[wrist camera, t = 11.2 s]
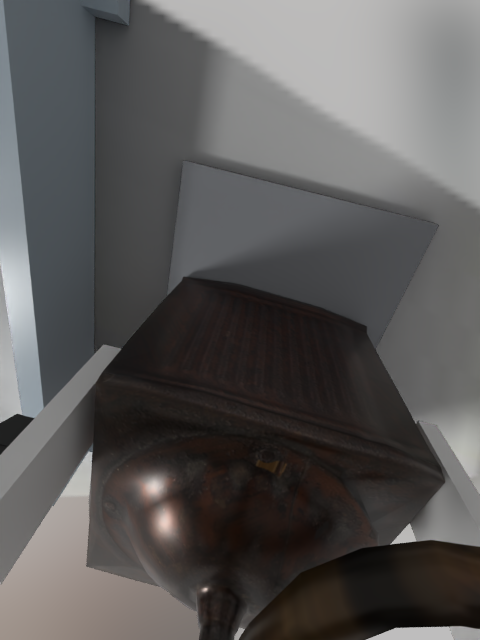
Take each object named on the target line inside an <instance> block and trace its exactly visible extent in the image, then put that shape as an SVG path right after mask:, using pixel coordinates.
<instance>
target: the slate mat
mask: <svg viewBox="0 0 480 640" xmlns="http://www.w3.org/2000/svg"><path fill="white" fill-rule="evenodd" d="M438 226H439V225H438V224H435V223H432V222H428V221H424V220H420V219H416V218H412V217H408V216H404V215H400V214H396V213H392V212H388V211H384V210H380V209H376V208H372V207H369V206H365V205H361V204H357V203H353V202H349V201H345V200H341V199H337V198H333V197H329V196H325V195H321V194H317V193H313V192H309V191H305V190H301V189H297V188H293V187H289V186H285V185H281V184H277V183H273V182H269V181H265V180H262V179H258V178H254V177H250V176H246V175H242V174H238V173H234V172H230V171H226V170H222V169H218V168H214V167H210V166H206V165H202V164H198V163H194V162H190V161H183V167H182V175H181V183H180V191H179V200H178V208H177V216H176V224H175V232H174V240H173V249H172V257H171V265H170V273H169V281H168V290H167V296H168V295H169V294H170V293H171V292H172V290H173V289H174V288H175V287H176V286H177V285H178V284H179V283H180V282H181V281H182V279H183V277H192V278H200V279H207V280H214V281H221V282H228V283H236V284H240V285H244V286H247V287H251V288H254V289H258V290H261V291H265V292H269V293H272V294H276V295H279V296H283V297H286V298H290V299H293V300H297V301H300V302H304V303H307V304H311V305H314V306H318V307H321V308H324V309H326V310H329V311H331V312H333V313H336V314H338V315H341V316H343V317H346V318H348V319H351V320H353V321H355V322H358V323H360V324H363V325H365V326H367V335H368V336H369V338H370V340H371V342H372V344H373V346H374V348H375V349H376V347H377V345H378V343H379V341H380V339H381V337H382V336H383V334H384V332H385V330H386V328H387V326H388V324H389V322H390V320H391V318H392V316H393V314H394V312H395V310H396V308H397V306H398V304H399V302H400V300H401V298H402V296H403V294H404V293H405V291H406V289H407V287H408V285H409V283H410V281H411V279H412V277H413V275H414V273H415V271H416V269H417V267H418V265H419V263H420V261H421V259H422V257H423V255H424V253H425V252H426V250H427V248H428V246H429V244H430V242H431V240H432V238H433V236H434V234H435V232H436V230H437V228H438Z"/></svg>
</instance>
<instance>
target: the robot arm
mask: <svg viewBox="0 0 480 640" xmlns="http://www.w3.org/2000/svg"><path fill="white" fill-rule="evenodd" d="M120 350H121V348H117V347H112V346H108V345H103V346H102V347H101V348H100V349H99V350H98V351H97V352H96V353H95V354H94V355H93V356H92V357H91V359H90V360H89V361H88V362H87V363H86V364H85V365H84V366H83V367H82V368H81V369H80V370H79V371H78V372H77V373H76V375H75V376H74V377H73V378H72V379H71V380H70V381H69V382H68V383H67V384H66V385H65V386H64V387H63V388H62V390H61V391H60V392H59V393H58V394H57V395H56V396H55V397H54V398H53V399H52V400H51V401H50V402H49V403H48V404H47V406H46V407H45V408H44V409H43V410H42V411H41V412H40V413H39V414H38V415H37V416H36V417H35V418H32V417H28V416H24V415H19V414H16V415H14V416H13V417H11V418H9V419H7V420H5V421H4V422H2V423H0V585H1V584H2V582H3V581H4V579H5V578H6V576H7V575H8V573H9V572H10V570H11V569H12V567H13V565H14V564H15V562H16V561H17V559H18V558H19V556H20V555H21V553H22V551H23V550H24V548H25V547H26V545H27V544H28V542H29V541H30V539H31V538H32V536H33V534H34V533H35V531H36V530H37V528H38V527H39V525H40V524H41V522H42V520H43V519H44V517H45V516H46V514H47V513H48V511H49V510H50V508H51V507H52V505H53V504H54V502H55V500H56V499H57V497H58V496H59V494H60V493H61V491H62V490H63V488H64V487H65V485H66V483H67V482H68V480H69V479H70V477H71V476H72V474H73V473H74V471H75V470H76V468H77V466H78V465H79V463H80V462H81V460H82V459H83V457H84V456H85V454H86V452H87V451H88V449H89V448H90V446H91V445H92V443H93V435H94V410H95V385H96V381H97V380H98V378H99V376H100V375H101V373H102V372H103V371H104V369H105V368H106V367H107V366H108V364H109V363H110V362H111V361H112V360H113V359H114V357H115V356H116V355H117V354H118V353H119V351H120ZM416 425H417V427H418V429H419V431H420V432H421V434H422V436H423V438H424V440H425V442H426V444H427V445H428V447H429V449H430V451H431V452H432V454H433V455H434V457H435V459H436V460H437V462H438V463H439V465H440V466H441V469H442V472H443V476H444V479H445V483H444V484H443V485H442V487H441V488H440V489H439V490H438V491H437V492H436V493H435V495H434V496H433V497H432V498H431V499H430V500H429V501H428V502H427V504H426V505H425V506H424V507H423V508H422V509H421V510H420V512H419V513H418V514H417V515H416V516H415V517H414V518H413V520H412V521H411V522H410V524H411V527H412V530H413V532H414V535H415V538H416V540H417V541H426V540H435V541H442V542H450V543H457V544H464V545H471V546H478V547H480V494H479V493H478V491H477V489H476V488H475V486H474V485H473V483H472V481H471V480H470V478H469V476H468V475H467V473H466V472H465V470H464V468H463V467H462V465H461V464H460V462H459V460H458V459H457V457H456V455H455V454H454V452H453V451H452V449H451V447H450V446H449V444H448V443H447V441H446V439H445V438H444V436H443V435H442V433H441V431H440V430H439V428H438V426H437V425H434V424H430V423H426V422H422V421H418V422H417V423H416ZM449 628H450V631H451V633H452V636H453V638H454V640H480V629H475V628H469V627H463V626H449Z"/></svg>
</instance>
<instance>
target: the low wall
mask: <svg viewBox="0 0 480 640" xmlns="http://www.w3.org/2000/svg"><path fill="white" fill-rule="evenodd" d="M129 15H130V0H0V264H1V271H2V278H3V285H4V292H5V299H6V305H7V312H8V319H9V326H10V333H11V340H12V347H13V354H14V361H15V368H16V375H17V382H18V389H19V395H20V402H21V409H22V415H24V416H28V417H32V418H35V417H36V416H37V415H38V414H39V413H40V412H41V411H42V410H43V409H44V408H45V407H46V406H47V404H48V403H49V402H50V401H51V400H52V399H53V398H54V397H55V396H56V395H57V394H58V393H59V392H60V391H61V390H62V388H63V387H64V386H65V385H66V384H67V383H68V382H69V381H70V380H71V379H72V378H73V377H74V376H75V375H76V373H77V372H78V371H79V370H80V369H81V368H82V367H83V366H84V365H85V364H86V363H87V362H88V361H89V360H90V359H91V357H92V356H93V355H94V250H95V17H98V18H102V19H106V20H110V21H113V22H117V23H121V24H125V25H129ZM88 451H89V452H93V443H92V445H91V446H90V448H89V449H88ZM88 451H87V452H86V454H85V456H86V455H87V453H88ZM85 456H84V457H83V459H84V458H85ZM83 459H82V460H81V462H82V461H83ZM81 462H80V463H79V465H80V464H81ZM79 465H78V466H77V468H76V470H77V469H78V467H79ZM76 470H75V471H74V473H75V472H76ZM74 473H73V474H72V476H73V475H74ZM72 476H71V477H70V479H71V478H72ZM70 479H69V480H68V482H67V483H66V485H65V487H66V486H67V484H68V483H69V481H70ZM65 487H64V488H63V490H64V489H65ZM63 490H62V491H61V493H62V492H63ZM61 493H60V494H59V496H58V497H57V499H56V500H55V502H54V504H55V503H56V501H57V500H58V498H59V497H60V495H61ZM54 504H53V505H52V506H54Z"/></svg>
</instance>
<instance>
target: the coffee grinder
mask: <svg viewBox="0 0 480 640" xmlns="http://www.w3.org/2000/svg"><path fill="white" fill-rule="evenodd" d="M444 483H445V479H444V476H443V472H442V469H441V466H440V465H439V463H438V462H437V460H436V459H435V457H434V455H433V454H432V452H431V451H430V449H429V447H428V445H427V444H426V442H425V440H424V438H423V436H422V434H421V432H420V431H419V429H418V427H417V425H416V423H415V421H414V420H413V418H412V416H411V414H410V412H409V410H408V409H407V407H406V405H405V403H404V401H403V399H402V397H401V396H400V394H399V392H398V390H397V388H396V386H395V385H394V383H393V381H392V379H391V377H390V376H389V374H388V372H387V370H386V368H385V367H384V365H383V363H382V361H381V359H380V358H379V356H378V354H377V352H376V350H375V348H374V346H373V344H372V342H371V340H370V338H369V336H368V335H367V326H365V325H363V324H360V323H358V322H355V321H353V320H351V319H348V318H346V317H343V316H341V315H338V314H336V313H333V312H331V311H329V310H326V309H324V308H321V307H318V306H314V305H311V304H307V303H304V302H300V301H297V300H293V299H290V298H286V297H283V296H279V295H276V294H272V293H269V292H265V291H261V290H258V289H254V288H251V287H247V286H244V285H240V284H236V283H228V282H221V281H214V280H207V279H200V278H192V277H183V279H182V281H181V282H180V283H179V284H178V285H177V286H176V287H175V288H174V289H173V290H172V292H171V293H170V294H169V295H168V296H167V297H166V298H165V299H164V300H163V301H162V303H161V304H160V305H159V306H158V307H157V308H156V309H155V310H154V312H153V313H152V314H151V315H150V316H149V317H148V318H147V320H146V321H145V322H144V323H143V324H142V325H141V327H140V328H139V329H138V330H137V331H136V333H135V334H134V335H133V336H132V337H131V338H130V340H129V341H128V342H127V343H126V344H125V346H124V347H123V348H122V349H121V350H120V351H119V353H118V354H117V355H116V356H115V357H114V359H113V360H112V361H111V362H110V363H109V364H108V366H107V367H106V368H105V369H104V371H103V372H102V373H101V375H100V376H99V378H98V380H97V381H96V385H95V410H94V435H93V454H92V474H91V484H90V495H89V517H90V518H89V519H90V523H89V536H88V550H87V565H86V566H87V567H90V568H94V569H97V570H101V571H104V572H108V573H111V574H115V575H118V576H122V577H126V578H129V579H133V580H136V581H140V582H144V583H148V584H151V585H155V586H159V587H161V588H163V589H164V590H166V591H167V592H169V593H170V594H171V595H172V596H173V597H175V598H176V599H177V600H178V601H180V602H181V603H182V604H184V605H185V606H186V607H188V608H189V609H191V610H194V611H197V617H198V625H199V628H200V636H199V640H234V635H235V634H236V632H237V631H238V628H239V627H240V628H243V629H245V630H244V632H243V634H242V635H241V637H240V638H239V640H366V639H368V638H371V637H373V636H376V635H379V634H381V633H384V632H386V631H389V630H391V629H394V628H401V627H402V628H404V627H443V626H445V627H447V626H463V627H469V628H475V629H480V547H478V546H471V545H464V544H457V543H450V542H442V541H435V540H426V541H417V542H409V543H400V544H392V545H390V544H391V543H392V542H393V541H394V539H395V538H396V537H397V536H398V535H399V534H400V533H401V532H402V531H403V529H404V528H405V527H406V526H407V525H408V524H409V523H410V522H411V521H412V520H413V518H414V517H415V516H416V515H417V514H418V513H419V512H420V510H421V509H422V508H423V507H424V506H425V505H426V504H427V502H428V501H429V500H430V499H431V498H432V497H433V496H434V495H435V493H436V492H437V491H438V490H439V489H440V488H441V487H442V485H443V484H444Z"/></svg>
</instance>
